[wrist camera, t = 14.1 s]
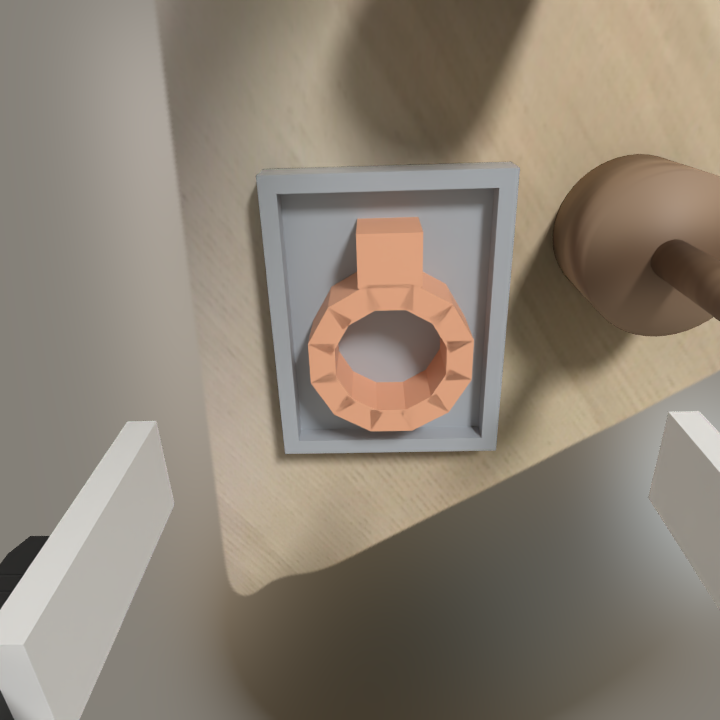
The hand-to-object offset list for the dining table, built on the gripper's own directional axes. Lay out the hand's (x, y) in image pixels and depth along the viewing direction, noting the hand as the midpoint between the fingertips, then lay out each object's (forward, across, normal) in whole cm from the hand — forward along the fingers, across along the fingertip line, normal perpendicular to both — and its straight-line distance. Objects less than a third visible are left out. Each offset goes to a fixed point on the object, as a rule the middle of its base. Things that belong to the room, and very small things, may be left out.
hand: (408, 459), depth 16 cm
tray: (+22, 0, -5) cm, 23 cm away
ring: (+21, 0, -5) cm, 22 cm away
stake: (+22, +14, 0) cm, 26 cm away
